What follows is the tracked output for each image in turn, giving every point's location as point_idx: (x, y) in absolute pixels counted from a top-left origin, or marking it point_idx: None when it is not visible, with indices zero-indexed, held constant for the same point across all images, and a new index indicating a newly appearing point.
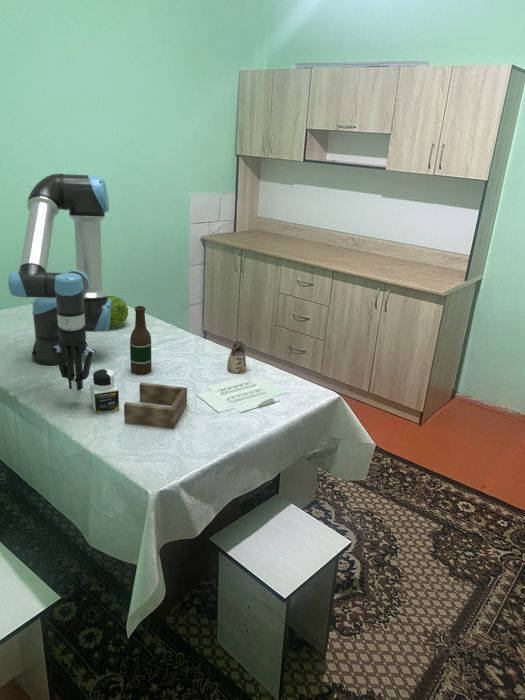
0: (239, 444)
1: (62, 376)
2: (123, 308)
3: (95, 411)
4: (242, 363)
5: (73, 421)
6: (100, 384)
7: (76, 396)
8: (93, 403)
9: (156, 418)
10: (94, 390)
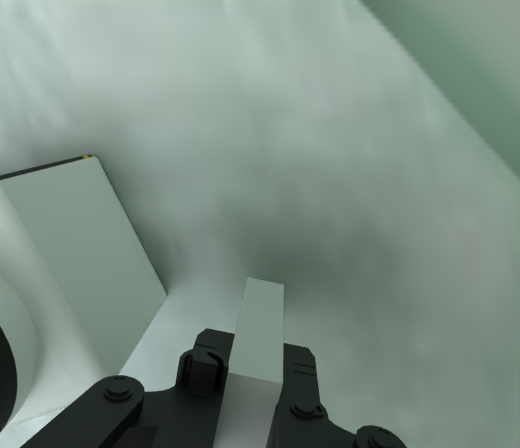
0: None
1: (396, 441)
2: None
3: (92, 159)
4: None
5: (222, 33)
6: None
7: (248, 292)
8: (106, 222)
9: None
10: (9, 239)
